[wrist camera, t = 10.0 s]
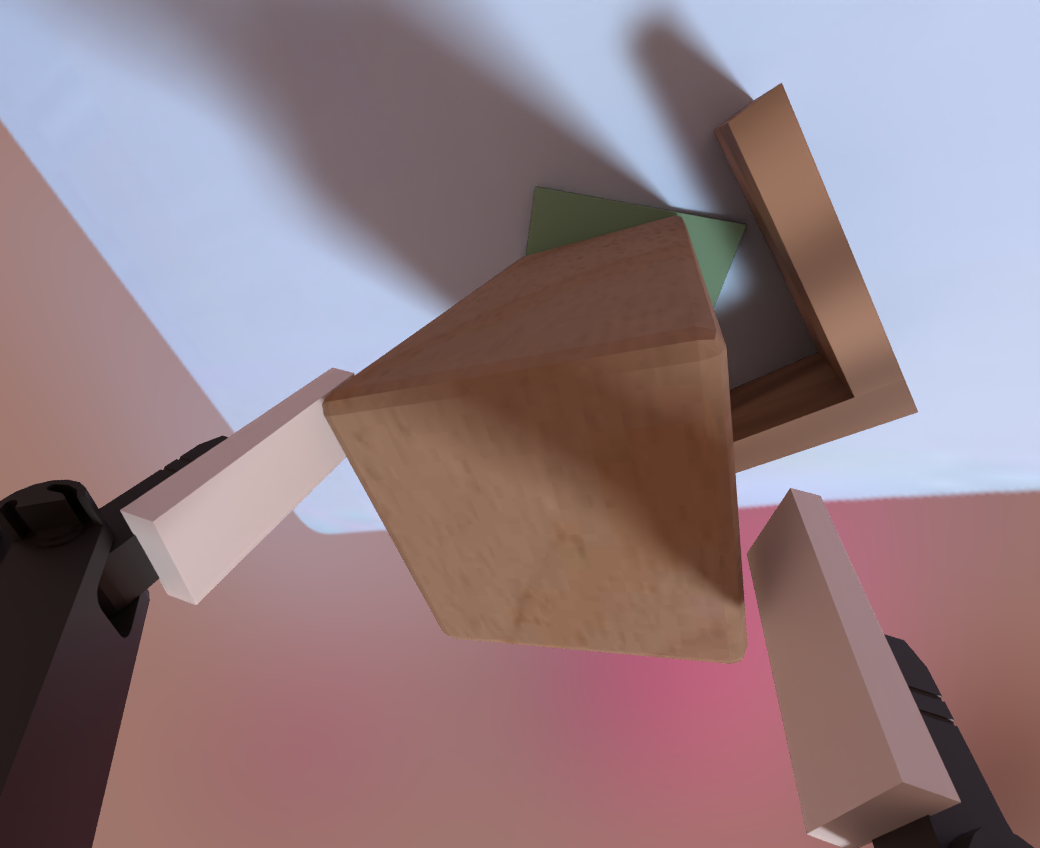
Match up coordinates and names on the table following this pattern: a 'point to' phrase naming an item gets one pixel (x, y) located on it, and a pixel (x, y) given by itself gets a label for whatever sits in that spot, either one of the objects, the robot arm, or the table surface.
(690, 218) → the pad
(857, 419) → the wooden corner bracket
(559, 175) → the table surface
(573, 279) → the wooden block
